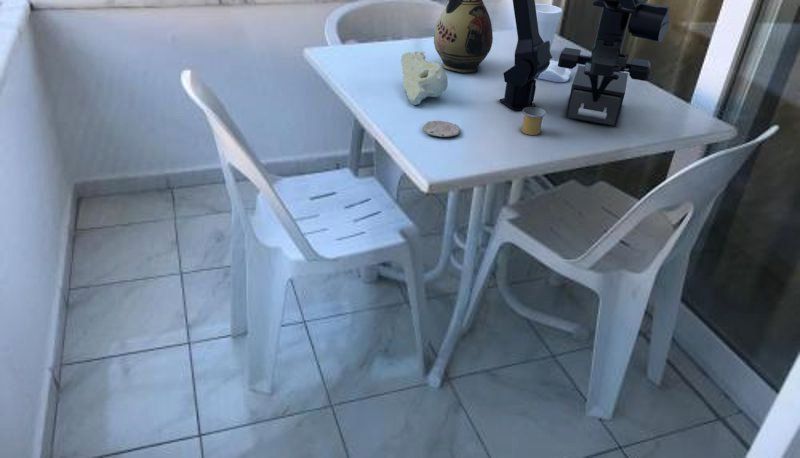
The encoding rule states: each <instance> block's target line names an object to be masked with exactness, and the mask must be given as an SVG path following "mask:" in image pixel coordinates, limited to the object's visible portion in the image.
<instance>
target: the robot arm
mask: <svg viewBox="0 0 800 458" xmlns="http://www.w3.org/2000/svg"><path fill="white" fill-rule="evenodd" d="M648 2H649V0H595V1H593V2H592V5H593V6H594V7H599V8H602V9H601V13H600V17H599V22H598V27H597V31H596V36H595V40H594V44H593V48H592V50H591V53H590V54H591V55H585V54H581V52H582V50H581V49H579V48H572V47H563V48H562V49H561V51H560V54H559V57H558V60H557V61H558V66H559V67H562V68H567V69H569V70H573V69H574V68H575V67H577V65H581V66H585V70H584V74H585V75H588V76H589V78H590V82H591V86H592V96H593V102H597V101H598V99H599V98H600V96H601V95H602V93H603V91H604V90H605V88H606V87H607V86H608V84H609V83H610V82H611V81H612V80H618V79H619V74H620V73H621V72H623V73H628V76H629V77H630V78H631V79H632V80H637V81H641V82H642V81H643V82H647V81H648V80H649V76H650V72H651V61H650V60H649V59H642V58H636V57H632V58H631V61H630V62H629V61H628V58H629V54H627V53H622V50H623V47H624V42H625V38H626V33H627V31H628V33H630V35H631V37H633V38H639V39H642V40H647V41H650V42H651V41H652V42H656V43H662V41H663V40H664V38H665V36H666V34H667V32H668V29H669V26H670V10H671V7H670V5H669V6H668V5H663V4H661V5H659V4H655V3H654V4H653V3H650V2H649V3H648ZM535 4H536V0H512V6H513V13H514V20H515V27H516V28H515V29H516V34H517V42H516V47H515V51H514V65H513V66H511V67H510V68H509V69H507V70H506V71H505V72H503V74H502V75H503V80H504V81H503V82H504V83H506V84H505V89H504V97H503V98H500V99H499V102H500V103H501V104H503V105H504V106H506V107H507V108H509V109H511V110H513V111H514V112H517V111H523V108H525V107H537V104H536V103H534V100H535V95H536V89H537V85H536V84H537V80H536V79H539V78H538V77H539V75H540V74H541V73H542V72H544V71H545V70H546V69H547V68H548V66H549V64H550V61H551V60H552V59H553V55H552V53H551V48H550V42H549V41H546V42H543V40H542V38H541V37H540V35H539V30H538V22H537V15H536V7H535ZM627 29H628V30H627ZM599 75H600V76H603V79H602V81H601V84H600V87H599V89H598V92H597V88H598V79H599Z"/></svg>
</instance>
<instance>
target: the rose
mask: <svg viewBox="0 0 800 458" xmlns="http://www.w3.org/2000/svg"><path fill="white" fill-rule="evenodd" d="M558 61H559V60H557V61H555V60H550V64H549V66H548V68H547V69H546V70H545V71H544V72H542V73H541V74H540V75H539V77H538V78H537V79H540V80H545V81H549V82H555V83H567V82H568V81H569V80H570V76H571V74H572V72H571V69H569V68H562V67H559V66H558Z"/></svg>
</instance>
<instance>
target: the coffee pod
mask: <svg viewBox="0 0 800 458" xmlns="http://www.w3.org/2000/svg"><path fill="white" fill-rule="evenodd" d="M522 113H523V120H522V124H521V132H522V133H523V134H525V135H529V136H537V135H539V134H540V133H541V128H542V123H543V117H545V116H546V114H547V112H546V110H544V108H541V107H537V106H536V107H525V108H523V110H522Z"/></svg>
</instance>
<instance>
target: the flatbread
mask: <svg viewBox="0 0 800 458" xmlns="http://www.w3.org/2000/svg"><path fill="white" fill-rule="evenodd" d="M422 129H423V131H424V132H425V133H426V134H427V135H429V136H435V137H438V138H439V137H441V138H450V137H455V136H458V135H459V134H460V127H459V126H458V124H456V123H453V122H449V121H445V120H444V121H443V120H430V121H427V122H426V123H425V124H423V127H422Z"/></svg>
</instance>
